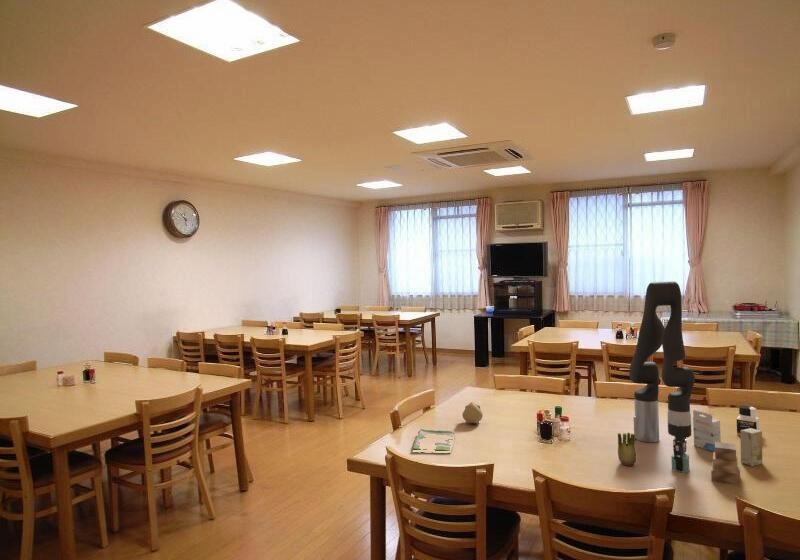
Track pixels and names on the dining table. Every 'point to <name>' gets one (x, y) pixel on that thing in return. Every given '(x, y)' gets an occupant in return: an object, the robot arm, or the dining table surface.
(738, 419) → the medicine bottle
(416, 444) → the green white rectangular tray
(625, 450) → the fennel bulb
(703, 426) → the ink box
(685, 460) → the cube
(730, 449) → the tower top
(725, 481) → the tower base
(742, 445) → the skincare box
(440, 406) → the dining table surface
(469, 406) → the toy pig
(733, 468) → the tower mid
